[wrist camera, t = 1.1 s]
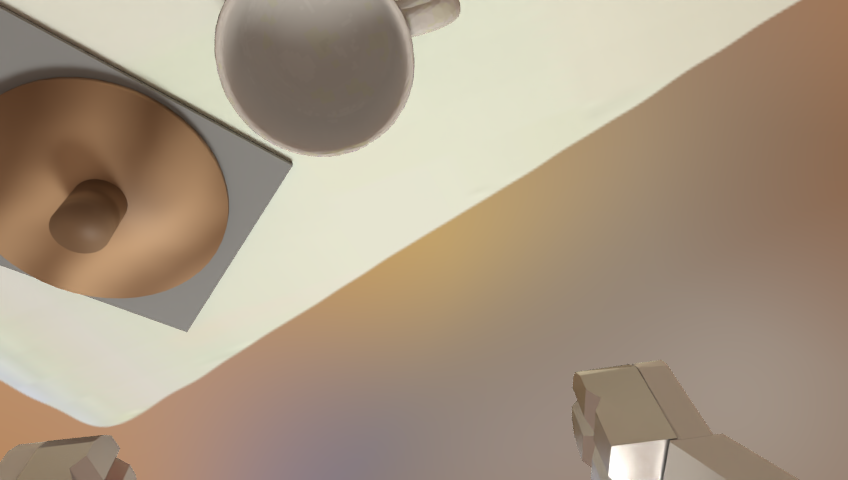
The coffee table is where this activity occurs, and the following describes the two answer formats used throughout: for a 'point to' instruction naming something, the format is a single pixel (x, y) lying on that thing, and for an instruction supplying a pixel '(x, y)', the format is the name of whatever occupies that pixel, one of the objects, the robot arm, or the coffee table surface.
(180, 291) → the mat
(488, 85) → the coffee table surface
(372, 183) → the coffee table surface
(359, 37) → the teacup
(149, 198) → the lid
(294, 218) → the coffee table surface
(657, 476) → the robot arm
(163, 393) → the coffee table surface
